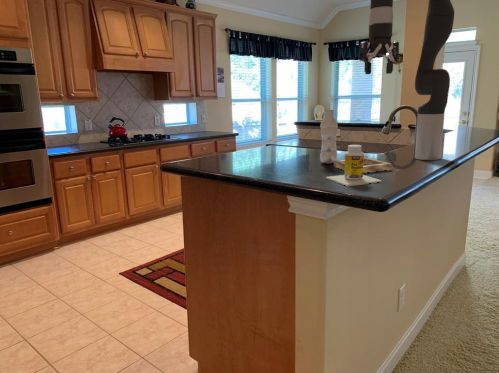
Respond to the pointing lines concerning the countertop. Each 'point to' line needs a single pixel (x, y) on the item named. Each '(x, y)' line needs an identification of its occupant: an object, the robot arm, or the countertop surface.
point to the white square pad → (347, 182)
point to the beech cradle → (367, 165)
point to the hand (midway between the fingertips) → (378, 73)
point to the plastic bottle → (328, 138)
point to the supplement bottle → (354, 163)
